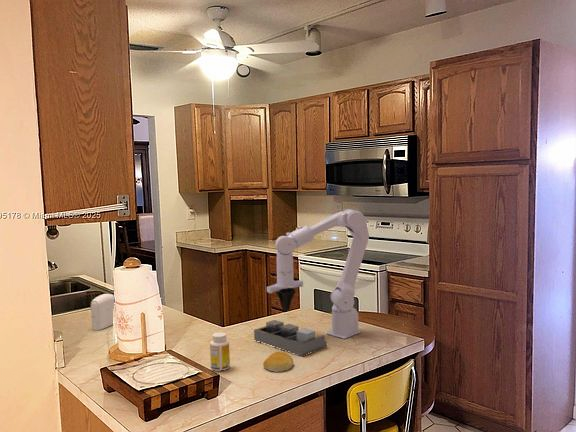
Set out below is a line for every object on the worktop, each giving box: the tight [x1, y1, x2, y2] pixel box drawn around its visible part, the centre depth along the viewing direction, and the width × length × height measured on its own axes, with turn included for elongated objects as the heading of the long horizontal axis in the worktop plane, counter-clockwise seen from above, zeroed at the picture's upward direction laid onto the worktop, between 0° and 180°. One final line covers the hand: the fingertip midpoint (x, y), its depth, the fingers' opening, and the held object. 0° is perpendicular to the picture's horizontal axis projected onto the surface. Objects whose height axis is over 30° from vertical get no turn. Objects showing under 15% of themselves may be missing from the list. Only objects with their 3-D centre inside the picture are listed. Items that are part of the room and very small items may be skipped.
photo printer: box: [90, 293, 115, 331], centre depth 190 cm, size 10×4×12 cm, turn 160°
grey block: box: [297, 327, 316, 343], centre depth 161 cm, size 4×4×5 cm
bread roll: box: [262, 351, 294, 372], centre depth 147 cm, size 8×9×4 cm
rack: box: [253, 319, 328, 357], centre depth 167 cm, size 12×22×6 cm, turn 46°
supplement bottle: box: [209, 332, 231, 372], centre depth 147 cm, size 6×6×10 cm
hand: (285, 310), depth 172 cm, fingers closed
